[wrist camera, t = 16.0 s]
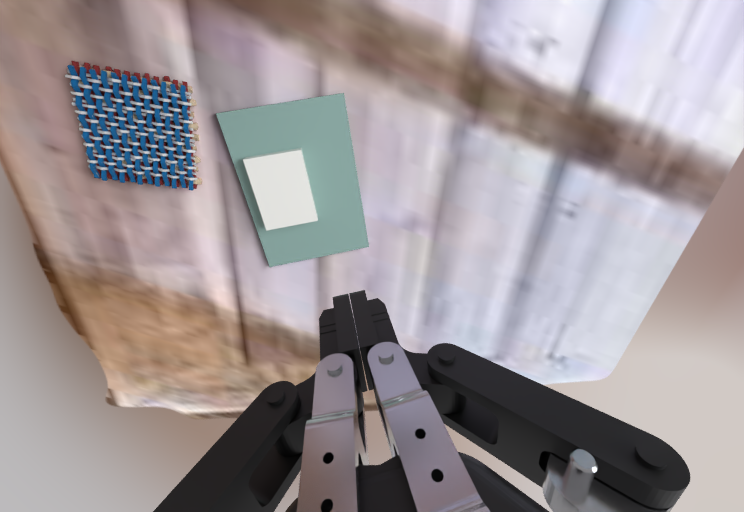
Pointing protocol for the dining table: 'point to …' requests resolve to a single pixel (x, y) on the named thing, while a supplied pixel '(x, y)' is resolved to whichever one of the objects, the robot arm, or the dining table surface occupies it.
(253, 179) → the rectangular block
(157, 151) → the woven mat
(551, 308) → the dining table surface
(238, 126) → the mat
